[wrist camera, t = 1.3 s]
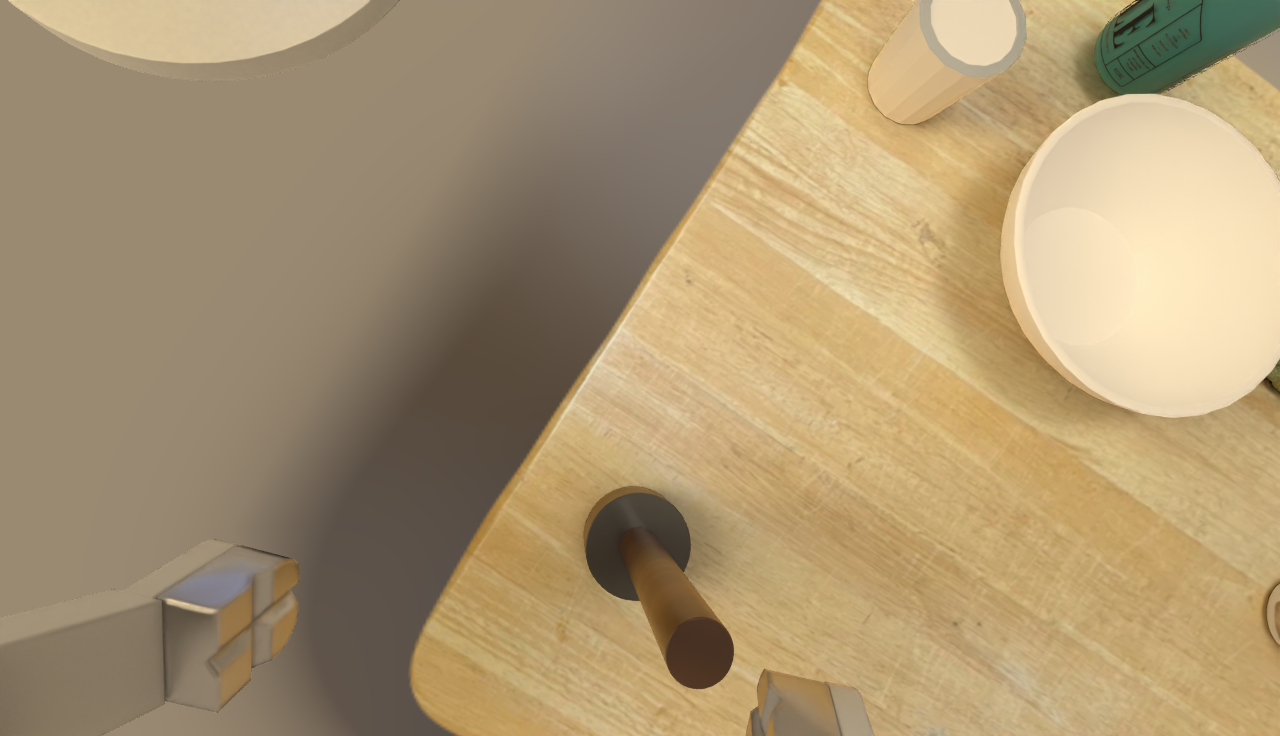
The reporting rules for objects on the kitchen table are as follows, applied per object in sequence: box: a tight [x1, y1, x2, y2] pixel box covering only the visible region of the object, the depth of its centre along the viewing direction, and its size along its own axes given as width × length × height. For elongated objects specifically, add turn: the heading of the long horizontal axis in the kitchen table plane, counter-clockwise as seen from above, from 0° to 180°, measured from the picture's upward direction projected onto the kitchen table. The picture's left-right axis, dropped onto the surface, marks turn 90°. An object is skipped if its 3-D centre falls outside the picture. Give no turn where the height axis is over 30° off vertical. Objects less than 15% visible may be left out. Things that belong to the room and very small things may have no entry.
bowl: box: [1000, 94, 1280, 418], centre depth 38 cm, size 20×20×7 cm
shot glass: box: [868, 0, 1026, 125], centre depth 38 cm, size 7×7×7 cm
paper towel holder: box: [584, 486, 734, 689], centre depth 27 cm, size 6×6×18 cm
